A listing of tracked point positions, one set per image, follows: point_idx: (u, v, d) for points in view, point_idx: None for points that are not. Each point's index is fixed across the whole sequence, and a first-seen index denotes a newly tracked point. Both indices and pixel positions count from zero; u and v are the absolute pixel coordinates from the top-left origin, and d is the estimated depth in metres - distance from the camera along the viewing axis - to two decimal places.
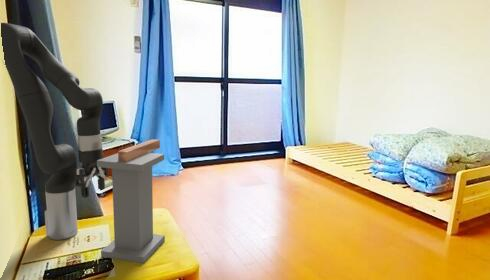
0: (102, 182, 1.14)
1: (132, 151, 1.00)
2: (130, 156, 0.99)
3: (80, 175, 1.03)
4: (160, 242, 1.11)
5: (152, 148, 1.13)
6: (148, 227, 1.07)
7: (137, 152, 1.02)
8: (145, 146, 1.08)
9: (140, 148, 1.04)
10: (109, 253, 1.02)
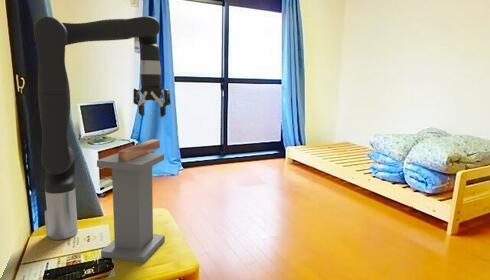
0: (143, 108, 1.24)
1: (132, 151, 1.00)
2: (130, 156, 0.99)
3: (169, 94, 1.21)
4: (160, 242, 1.11)
5: (152, 148, 1.13)
6: (148, 227, 1.07)
7: (137, 152, 1.02)
8: (145, 146, 1.08)
9: (140, 148, 1.04)
10: (109, 253, 1.02)
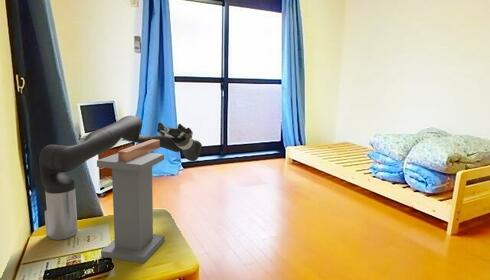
0: (161, 128, 1.31)
1: (132, 151, 1.00)
2: (130, 156, 0.99)
3: (191, 135, 1.34)
4: (160, 242, 1.11)
5: (152, 148, 1.13)
6: (148, 227, 1.07)
7: (137, 152, 1.02)
8: (145, 146, 1.08)
9: (140, 148, 1.04)
10: (109, 253, 1.02)
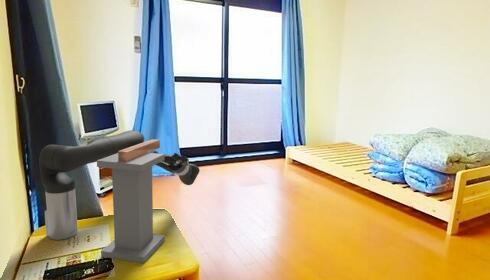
0: None
1: (132, 151, 1.00)
2: (130, 156, 0.99)
3: (187, 163, 1.32)
4: (160, 242, 1.11)
5: (152, 148, 1.13)
6: (148, 227, 1.07)
7: (137, 152, 1.02)
8: (145, 146, 1.08)
9: (140, 148, 1.04)
10: (109, 253, 1.02)
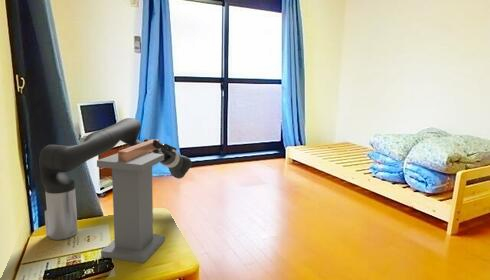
0: None
1: (132, 151, 1.00)
2: (130, 156, 0.99)
3: (172, 152, 1.19)
4: (160, 242, 1.11)
5: (152, 148, 1.13)
6: (148, 227, 1.07)
7: (137, 152, 1.02)
8: (145, 146, 1.08)
9: (140, 148, 1.04)
10: (109, 253, 1.02)
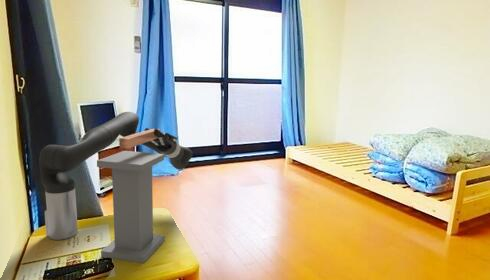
0: None
1: (133, 138, 1.00)
2: (131, 143, 0.99)
3: (173, 141, 1.19)
4: (160, 242, 1.11)
5: (153, 137, 1.13)
6: (148, 227, 1.07)
7: (138, 140, 1.02)
8: (146, 134, 1.08)
9: (141, 136, 1.04)
10: (109, 253, 1.02)
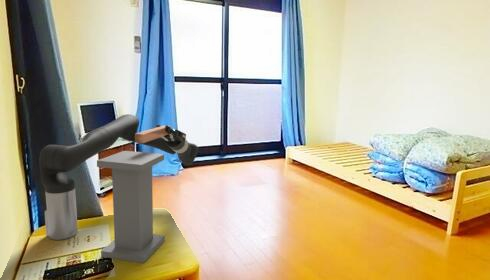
0: None
1: (147, 134, 1.09)
2: (146, 138, 1.08)
3: (182, 137, 1.28)
4: (160, 242, 1.11)
5: (164, 133, 1.22)
6: (148, 227, 1.07)
7: (151, 135, 1.11)
8: (158, 130, 1.16)
9: (154, 132, 1.13)
10: (109, 253, 1.02)
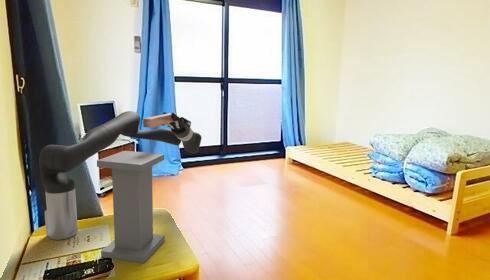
0: None
1: (155, 119, 1.13)
2: (153, 123, 1.12)
3: (187, 124, 1.32)
4: (160, 242, 1.11)
5: (170, 120, 1.26)
6: (148, 227, 1.07)
7: (158, 121, 1.16)
8: (165, 117, 1.21)
9: (161, 118, 1.18)
10: (109, 253, 1.02)
